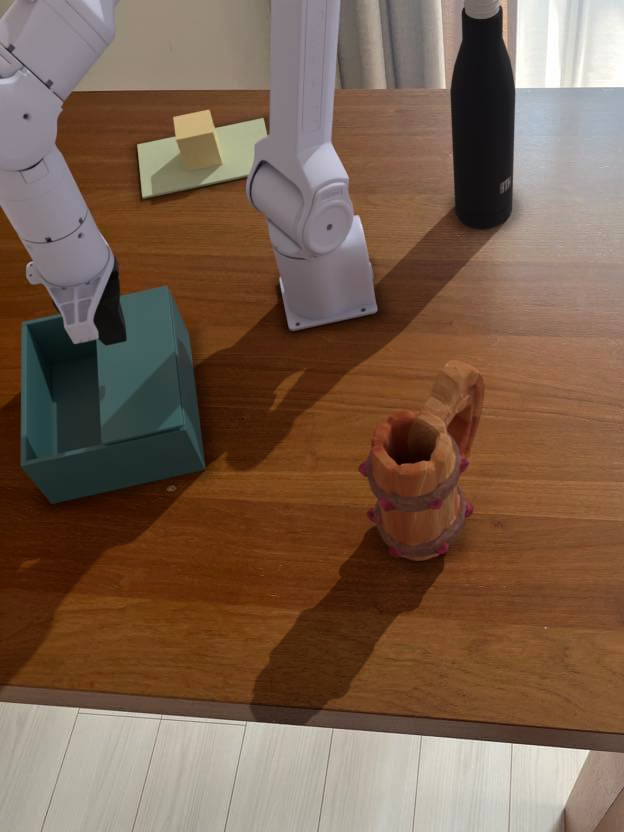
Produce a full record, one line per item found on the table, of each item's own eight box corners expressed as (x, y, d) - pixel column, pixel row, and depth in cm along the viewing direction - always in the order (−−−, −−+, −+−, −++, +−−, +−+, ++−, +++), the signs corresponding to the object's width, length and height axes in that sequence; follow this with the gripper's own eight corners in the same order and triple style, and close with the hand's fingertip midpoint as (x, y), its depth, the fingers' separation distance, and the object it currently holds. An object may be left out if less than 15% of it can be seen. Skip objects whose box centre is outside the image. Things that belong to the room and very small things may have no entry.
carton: (189, 334, 94) (170, 289, 88) (205, 470, 85) (185, 429, 79) (49, 365, 93) (21, 322, 88) (51, 504, 84) (20, 466, 79)
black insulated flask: (458, 189, 101) (447, -104, 75) (514, 191, 100) (523, -105, 74) (451, 228, 98) (438, -63, 72) (509, 230, 97) (517, -64, 71)
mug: (433, 592, 77) (423, 501, 64) (356, 551, 79) (330, 456, 66) (515, 469, 82) (520, 361, 69) (439, 434, 85) (431, 325, 72)
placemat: (263, 120, 110) (263, 117, 110) (274, 171, 106) (274, 168, 105) (137, 146, 110) (137, 144, 110) (143, 199, 105) (142, 197, 105)
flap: (168, 287, 88) (167, 285, 87) (183, 426, 79) (182, 424, 79) (95, 303, 88) (94, 301, 87) (102, 445, 79) (101, 443, 79)
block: (219, 141, 109) (209, 109, 105) (223, 164, 106) (213, 132, 103) (183, 149, 108) (172, 116, 105) (187, 172, 106) (175, 139, 103)
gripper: (1, 168, 72) (70, 290, 84) (-2, 294, 65) (73, 409, 76) (87, 150, 72) (143, 275, 84) (93, 274, 65) (154, 391, 77)
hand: (115, 338), depth 80 cm, fingers closed
